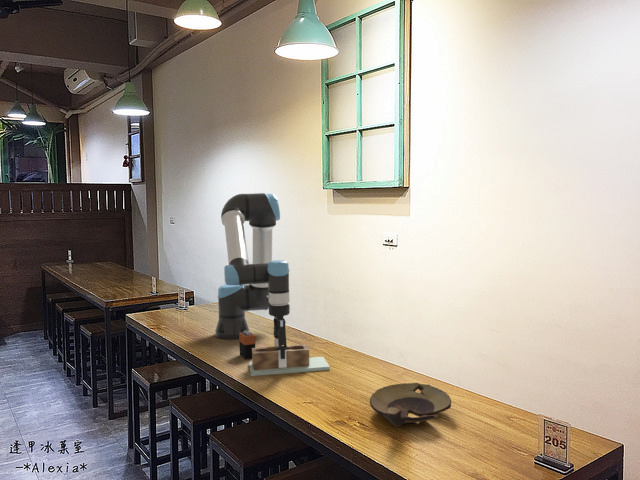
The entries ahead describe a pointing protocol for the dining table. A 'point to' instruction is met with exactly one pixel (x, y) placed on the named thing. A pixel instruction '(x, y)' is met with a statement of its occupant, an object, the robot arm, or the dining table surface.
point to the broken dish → (409, 402)
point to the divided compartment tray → (269, 357)
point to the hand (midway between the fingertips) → (280, 361)
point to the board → (294, 368)
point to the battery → (246, 344)
